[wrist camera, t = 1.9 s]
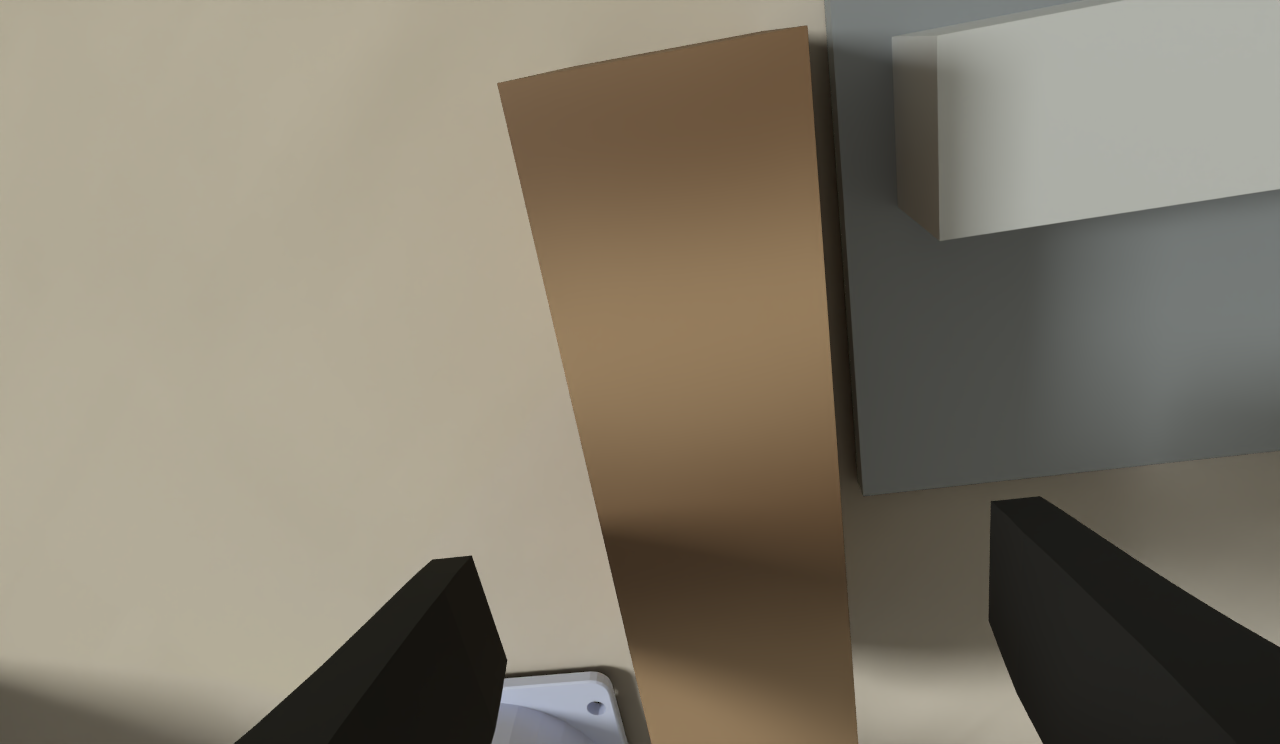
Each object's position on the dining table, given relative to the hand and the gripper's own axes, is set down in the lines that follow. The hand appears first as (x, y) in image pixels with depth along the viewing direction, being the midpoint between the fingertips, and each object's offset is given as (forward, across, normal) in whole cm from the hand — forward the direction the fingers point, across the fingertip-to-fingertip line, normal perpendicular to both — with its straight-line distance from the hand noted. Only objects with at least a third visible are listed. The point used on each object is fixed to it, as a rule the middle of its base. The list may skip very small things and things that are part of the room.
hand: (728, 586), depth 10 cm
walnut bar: (+7, 0, 0) cm, 7 cm away
